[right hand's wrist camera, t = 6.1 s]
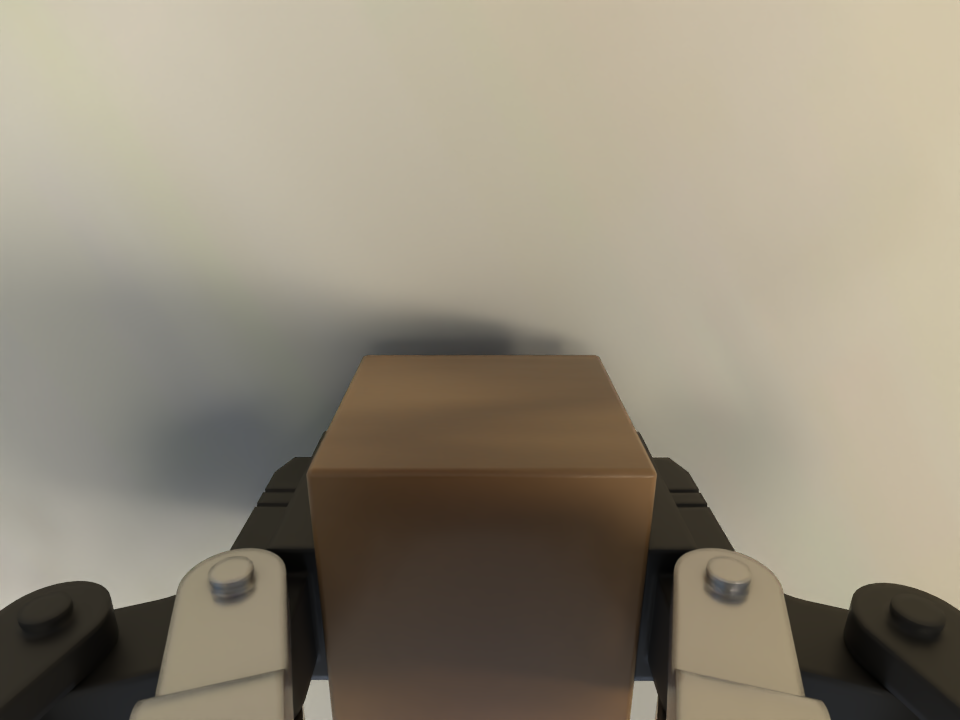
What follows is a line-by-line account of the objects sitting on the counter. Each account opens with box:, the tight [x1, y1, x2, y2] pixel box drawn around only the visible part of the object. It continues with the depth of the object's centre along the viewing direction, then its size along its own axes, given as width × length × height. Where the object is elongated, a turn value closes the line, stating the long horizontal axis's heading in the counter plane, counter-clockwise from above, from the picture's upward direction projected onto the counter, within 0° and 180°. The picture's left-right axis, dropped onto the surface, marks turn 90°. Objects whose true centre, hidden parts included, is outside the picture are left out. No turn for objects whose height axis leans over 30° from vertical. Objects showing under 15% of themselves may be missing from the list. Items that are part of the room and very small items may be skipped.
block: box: [306, 355, 657, 720], centre depth 11 cm, size 4×4×4 cm
